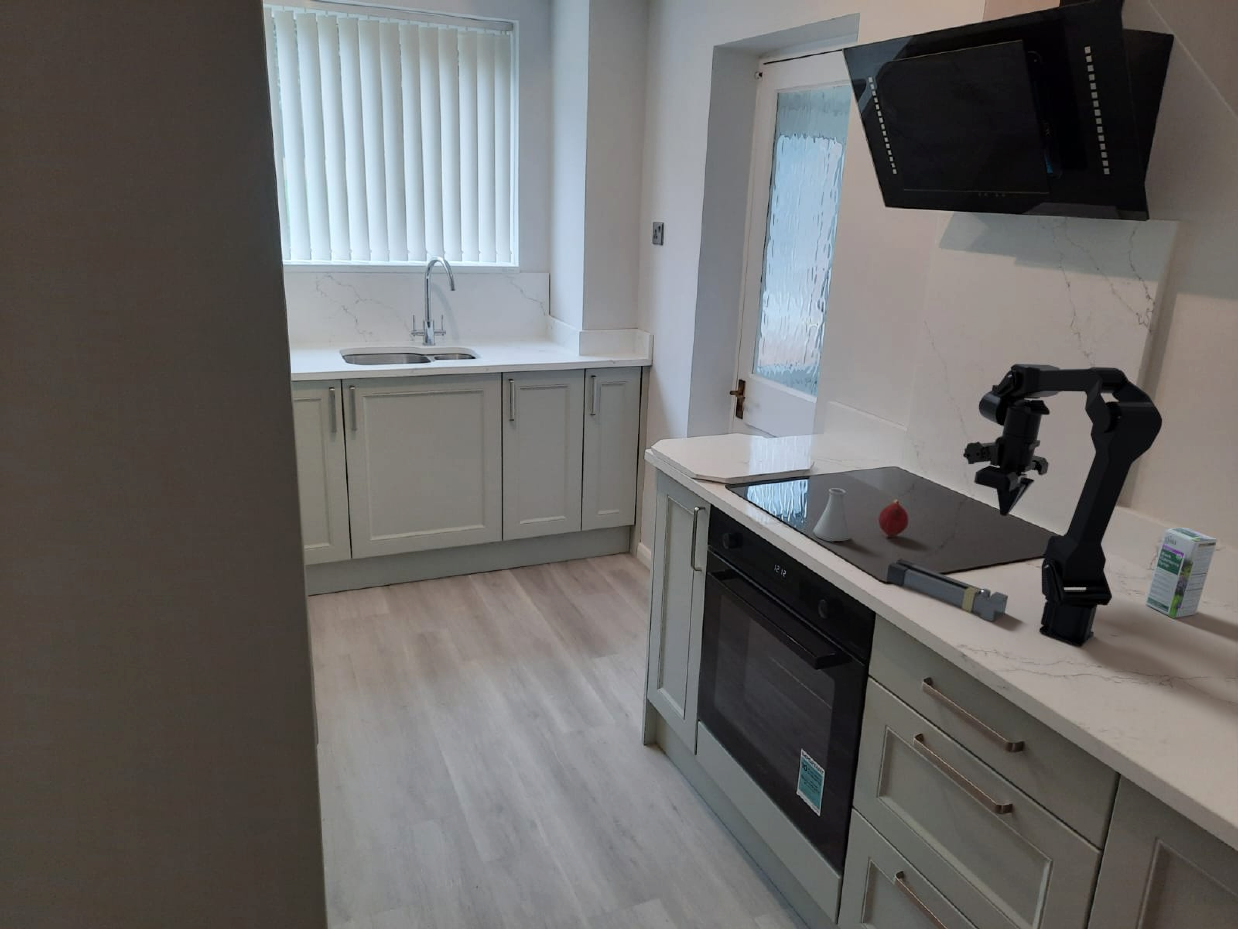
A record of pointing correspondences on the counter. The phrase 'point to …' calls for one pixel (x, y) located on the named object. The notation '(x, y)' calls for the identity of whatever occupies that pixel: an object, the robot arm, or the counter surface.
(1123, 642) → the counter surface
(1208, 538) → the syrup box
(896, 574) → the tongs
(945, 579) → the tongs arm
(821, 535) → the flask
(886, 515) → the onion
